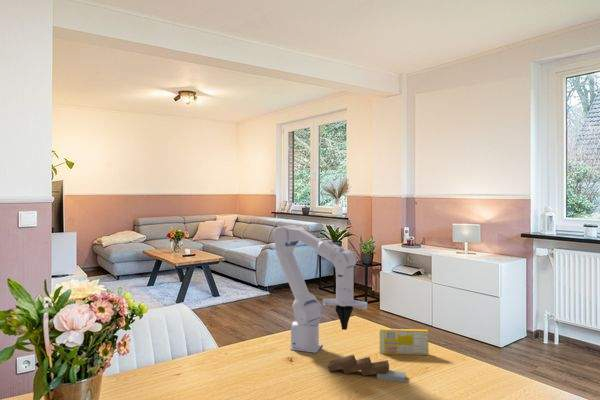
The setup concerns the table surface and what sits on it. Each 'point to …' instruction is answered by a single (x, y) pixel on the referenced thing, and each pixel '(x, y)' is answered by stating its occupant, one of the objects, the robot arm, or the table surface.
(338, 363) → the domino
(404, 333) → the candy box
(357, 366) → the domino
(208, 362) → the table surface
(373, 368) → the domino
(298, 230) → the robot arm
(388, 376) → the domino
